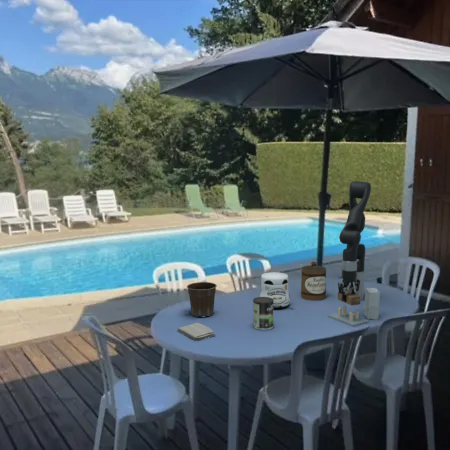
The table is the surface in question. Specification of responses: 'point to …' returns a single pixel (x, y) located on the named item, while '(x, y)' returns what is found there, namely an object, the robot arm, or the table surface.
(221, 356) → the table surface
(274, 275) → the milk container
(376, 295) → the skincare box
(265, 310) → the coffee can
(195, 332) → the washcloth
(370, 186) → the robot arm
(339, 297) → the plank
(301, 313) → the table surface
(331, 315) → the peg stand
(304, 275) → the wooden container
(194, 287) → the plant pot
